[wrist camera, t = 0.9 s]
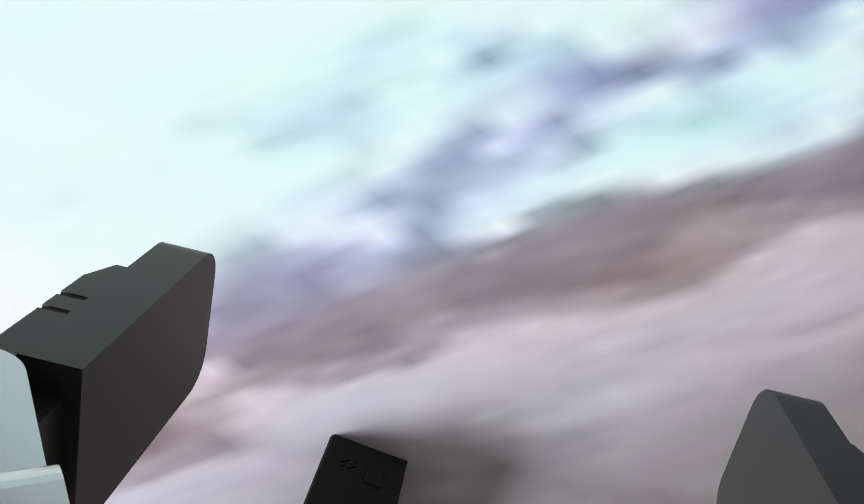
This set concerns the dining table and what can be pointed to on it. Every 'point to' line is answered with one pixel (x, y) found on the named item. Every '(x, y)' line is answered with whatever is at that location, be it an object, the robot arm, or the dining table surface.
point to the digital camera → (356, 475)
